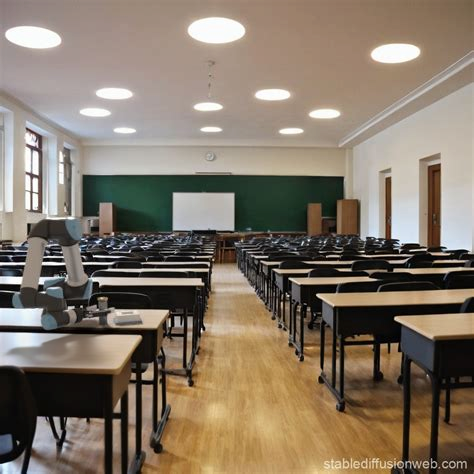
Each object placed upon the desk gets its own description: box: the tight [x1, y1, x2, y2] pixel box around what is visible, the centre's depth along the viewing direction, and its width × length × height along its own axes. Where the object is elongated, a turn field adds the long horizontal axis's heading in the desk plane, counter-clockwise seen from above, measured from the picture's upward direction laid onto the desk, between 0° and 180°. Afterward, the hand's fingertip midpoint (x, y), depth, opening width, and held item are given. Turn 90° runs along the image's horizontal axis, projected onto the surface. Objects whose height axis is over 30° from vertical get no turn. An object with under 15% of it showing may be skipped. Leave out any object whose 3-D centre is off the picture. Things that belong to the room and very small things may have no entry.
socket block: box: [113, 309, 143, 326], centre depth 242 cm, size 14×14×4 cm
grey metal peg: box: [97, 296, 109, 326], centre depth 236 cm, size 5×5×14 cm
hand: (105, 308), depth 236 cm, fingers open, 13 cm apart
